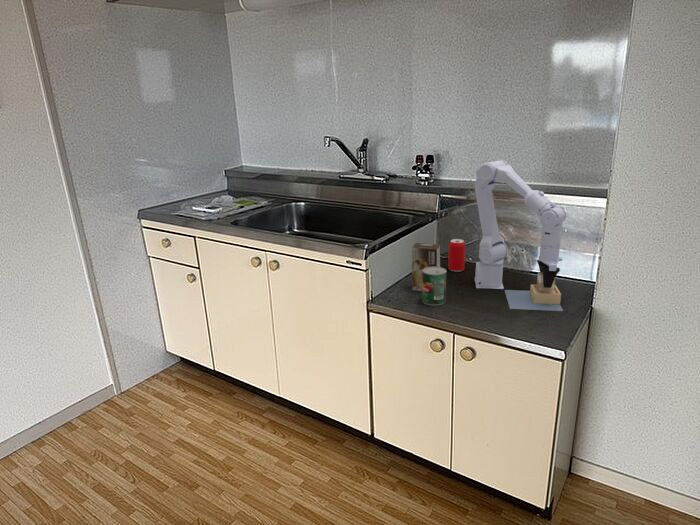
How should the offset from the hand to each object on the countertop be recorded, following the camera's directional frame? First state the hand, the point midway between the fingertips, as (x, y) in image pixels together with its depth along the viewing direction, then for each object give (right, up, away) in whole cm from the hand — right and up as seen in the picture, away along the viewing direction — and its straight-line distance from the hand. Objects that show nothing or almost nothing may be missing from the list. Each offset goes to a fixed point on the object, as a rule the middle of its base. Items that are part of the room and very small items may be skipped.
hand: (546, 284), depth 160 cm
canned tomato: (-36, -6, +5) cm, 37 cm away
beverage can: (-22, +4, +33) cm, 40 cm away
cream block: (0, -1, 0) cm, 1 cm away
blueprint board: (-4, -6, +2) cm, 7 cm away
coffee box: (-37, -2, +16) cm, 40 cm away
